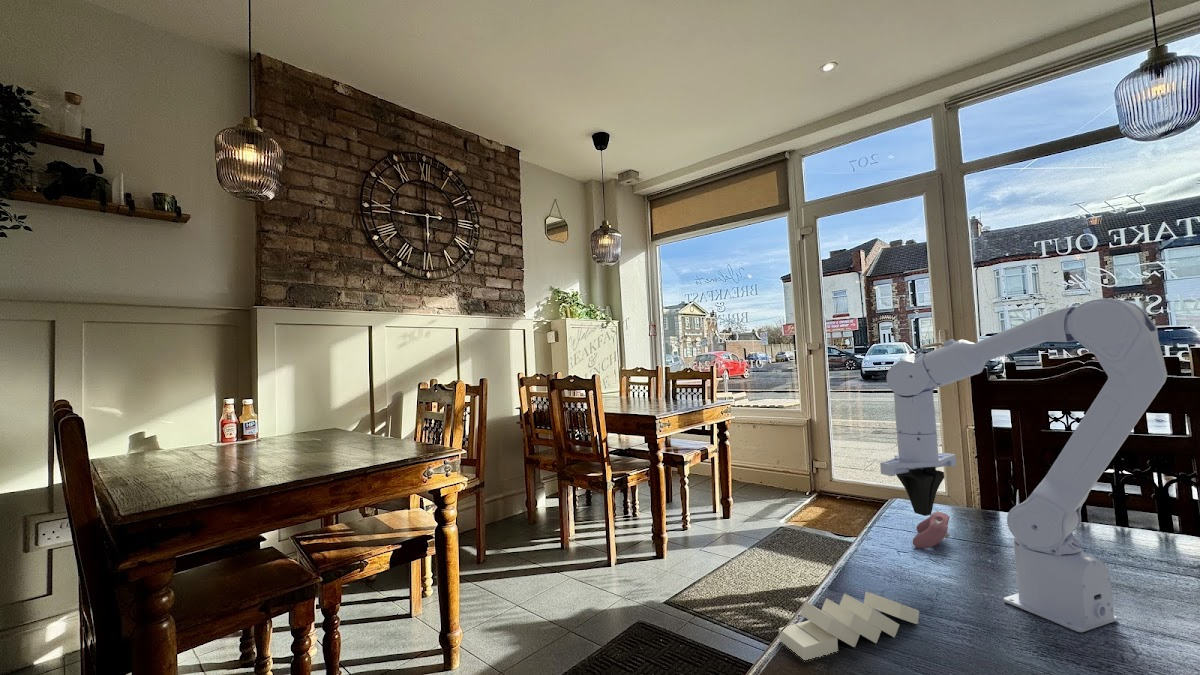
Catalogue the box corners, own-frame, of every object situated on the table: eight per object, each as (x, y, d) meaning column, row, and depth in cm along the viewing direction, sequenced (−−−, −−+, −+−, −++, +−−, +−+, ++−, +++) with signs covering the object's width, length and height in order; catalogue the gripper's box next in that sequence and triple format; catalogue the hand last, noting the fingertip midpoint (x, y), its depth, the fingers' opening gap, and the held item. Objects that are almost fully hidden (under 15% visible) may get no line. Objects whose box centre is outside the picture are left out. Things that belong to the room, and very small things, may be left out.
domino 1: (837, 637, 64) (803, 647, 63) (838, 652, 64) (804, 662, 63) (810, 619, 69) (778, 628, 67) (811, 633, 69) (779, 642, 67)
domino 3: (881, 630, 66) (854, 613, 65) (876, 643, 66) (848, 627, 64) (852, 613, 70) (826, 597, 69) (847, 625, 70) (821, 610, 69)
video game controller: (936, 560, 93) (955, 529, 91) (909, 545, 95) (927, 514, 93) (939, 543, 101) (956, 513, 99) (914, 529, 103) (930, 500, 101)
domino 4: (899, 624, 67) (873, 608, 66) (894, 637, 67) (867, 622, 65) (869, 608, 72) (844, 593, 70) (864, 620, 71) (839, 605, 70)
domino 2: (860, 634, 65) (832, 617, 64) (854, 647, 65) (826, 631, 64) (832, 616, 70) (805, 601, 69) (826, 629, 69) (799, 614, 68)
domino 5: (919, 610, 70) (901, 603, 67) (917, 624, 69) (899, 618, 67) (883, 597, 74) (865, 591, 71) (881, 611, 73) (863, 604, 71)
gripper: (926, 425, 91) (932, 501, 91) (863, 433, 87) (869, 513, 86) (965, 430, 84) (972, 512, 84) (899, 438, 80) (905, 526, 79)
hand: (922, 513), depth 85 cm, fingers closed
